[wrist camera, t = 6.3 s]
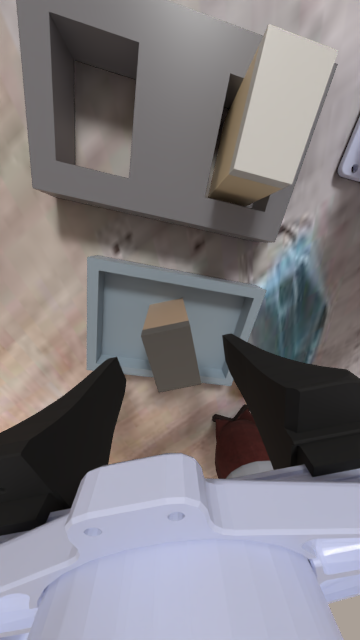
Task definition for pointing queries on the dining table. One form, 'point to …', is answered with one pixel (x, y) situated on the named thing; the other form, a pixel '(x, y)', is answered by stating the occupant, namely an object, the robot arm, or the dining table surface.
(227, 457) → the mate gourd
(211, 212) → the block
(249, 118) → the block
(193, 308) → the parts tray
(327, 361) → the dining table surface
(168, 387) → the block
